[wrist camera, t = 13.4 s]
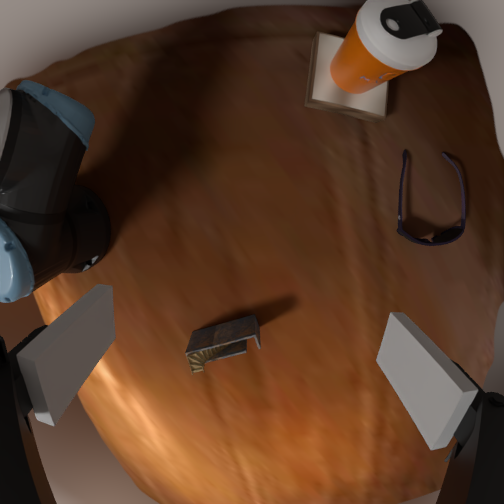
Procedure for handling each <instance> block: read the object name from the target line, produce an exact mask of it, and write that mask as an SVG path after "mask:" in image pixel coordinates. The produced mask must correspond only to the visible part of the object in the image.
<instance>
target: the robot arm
mask: <svg viewBox="0 0 504 504" xmlns="http://www.w3.org/2000/svg"><path fill="white" fill-rule="evenodd" d="M94 124H95V119H94V115H93V113H92V112H91V111H90V110H89V109H88V108H87V107H85V106H84V105H82V104H81V103H79V102H77V101H75V100H73V99H72V98H70V97H68V96H66V95H64V94H62V93H60V92H57V91H55V90H52V89H49V88H47V87H45V86H43V85H41V84H38V83H35V82H32V81H28V80H24V81H22V82H21V84H20V85H18V87H17V90H13V89H9V88H3V89H2V90H0V302H6V303H8V302H14V301H16V300H17V299H19V298H21V297H25V296H28V295H29V294H31V293H32V292H33V291H35V290H36V289H38V288H39V287H41V286H42V285H44V284H45V283H47V282H48V281H50V280H51V279H53V278H55V277H56V276H58V275H59V274H61V273H80V272H83V271H86V270H88V269H90V268H91V267H93V266H94V265H96V264H97V263H98V262H99V261H100V260H101V259H102V258H103V256H104V255H105V253H106V251H107V248H108V245H109V241H110V234H111V229H110V220H109V216H108V213H107V210H106V208H105V206H104V204H103V203H102V201H101V200H100V198H99V197H98V196H97V195H96V194H95V193H94V192H92V191H91V190H90V189H88V188H86V187H83V186H80V185H74V184H75V180H76V177H77V174H78V171H79V168H80V165H81V162H82V159H83V156H84V153H85V150H88V147H89V145H88V142H89V139H90V136H91V133H92V130H93V128H94ZM115 338H116V337H115V324H114V309H113V289H112V286H109V285H102V284H97V285H96V286H95V287H94V288H92V289H91V290H90V291H89V292H88V293H86V294H85V295H84V296H83V297H82V298H80V299H79V300H78V301H77V302H76V303H74V304H73V305H72V306H71V307H70V308H69V309H67V310H66V311H65V312H64V313H63V314H61V315H60V316H59V317H58V318H57V319H56V320H55V321H53V322H52V323H51V324H50V325H49V326H48V325H44V326H42V327H39V328H37V329H35V330H34V331H33V332H31V333H30V334H29V335H28V337H26V338H24V339H23V340H22V342H20V343H19V344H18V345H17V346H16V347H14V348H13V349H12V350H11V351H10V352H9V353H7V350H6V346H5V342H4V339H3V337H1V336H0V504H57V503H56V501H55V498H54V496H53V493H52V491H51V488H50V485H49V482H48V480H47V477H46V474H45V471H44V468H43V465H42V462H41V459H40V456H39V452H38V449H37V445H36V442H35V438H34V434H33V430H32V426H31V422H30V419H29V417H28V413H29V412H30V410H31V409H32V408H33V410H34V413H35V415H36V418H37V420H40V421H42V422H44V423H47V424H49V425H52V426H55V425H56V423H57V422H58V420H59V419H60V417H61V416H62V414H63V413H64V411H65V410H66V408H67V407H68V405H69V404H70V402H71V401H72V399H73V398H74V396H75V395H76V393H77V392H78V391H79V389H80V388H81V386H82V385H83V383H84V382H85V380H86V379H87V377H88V376H89V375H90V373H91V372H92V370H93V369H94V367H95V366H96V365H97V363H98V362H99V360H100V359H101V358H102V356H103V355H104V353H105V352H106V351H107V349H108V348H109V346H110V345H111V344H112V342H113V341H114V340H115ZM376 361H377V363H378V364H379V366H380V367H381V369H382V371H383V372H384V374H385V375H386V377H387V379H388V380H389V382H390V383H391V385H392V387H393V388H394V390H395V391H396V393H397V395H398V396H399V398H400V399H401V401H402V403H403V404H404V406H405V408H406V409H407V411H408V413H409V414H410V416H411V417H412V419H413V421H414V422H415V424H416V426H417V427H418V429H419V431H420V433H421V434H422V436H423V438H424V439H425V441H426V443H427V444H428V446H429V448H430V450H434V449H439V448H443V447H446V446H447V445H448V443H449V441H450V440H451V438H452V437H453V435H454V436H455V438H456V439H457V442H456V444H455V446H454V447H453V449H452V450H451V452H450V453H449V455H448V456H447V458H446V459H445V462H447V461H448V459H449V458H450V462H449V465H448V468H447V472H446V475H445V478H444V481H443V485H442V488H441V491H440V493H439V496H438V499H437V502H436V504H504V396H503V395H501V394H499V393H495V392H487V393H485V392H484V391H483V390H482V389H481V388H480V386H479V385H478V384H477V383H476V382H475V381H474V380H473V379H472V378H471V377H470V376H469V375H468V374H467V373H466V372H465V371H464V370H463V369H462V368H461V366H460V365H459V364H457V363H456V362H454V361H452V360H451V359H449V358H448V357H447V356H446V355H445V354H444V353H443V352H442V351H441V350H440V349H439V348H438V347H437V346H436V345H435V344H434V342H433V341H432V340H431V339H430V338H429V337H428V336H427V335H426V334H425V333H424V332H423V331H422V330H421V329H420V328H419V327H418V326H417V325H416V324H414V323H413V322H412V321H411V320H410V319H409V318H408V317H407V316H406V315H405V314H404V313H396V312H390V316H389V319H388V323H387V327H386V330H385V333H384V337H383V340H382V343H381V347H380V350H379V353H378V356H377V359H376Z"/></svg>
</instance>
